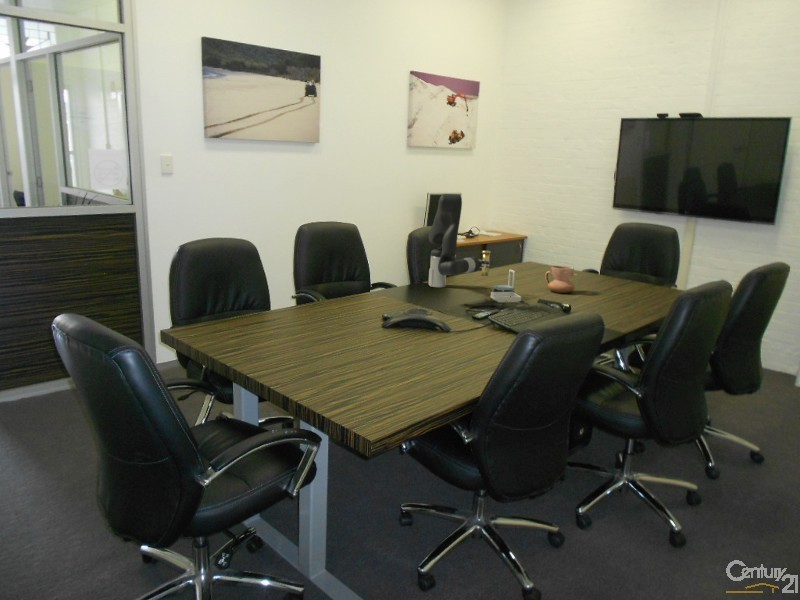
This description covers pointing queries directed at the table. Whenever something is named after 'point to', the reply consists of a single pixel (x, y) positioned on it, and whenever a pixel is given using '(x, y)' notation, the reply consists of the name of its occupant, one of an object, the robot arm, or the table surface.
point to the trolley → (506, 287)
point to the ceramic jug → (561, 279)
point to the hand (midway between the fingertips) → (488, 262)
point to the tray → (505, 296)
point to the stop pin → (485, 257)
